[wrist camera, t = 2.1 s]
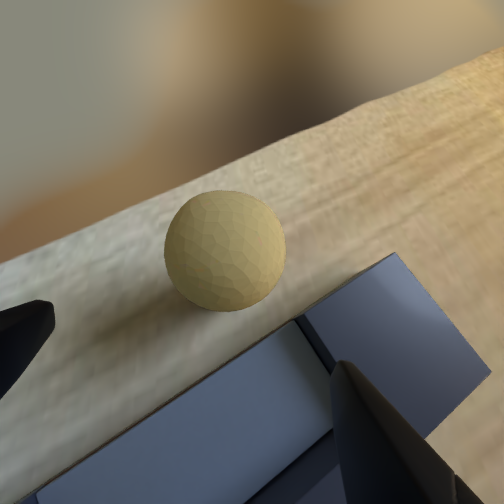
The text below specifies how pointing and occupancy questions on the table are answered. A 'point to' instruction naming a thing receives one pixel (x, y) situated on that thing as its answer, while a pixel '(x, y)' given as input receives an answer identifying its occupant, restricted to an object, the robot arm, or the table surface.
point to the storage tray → (284, 404)
